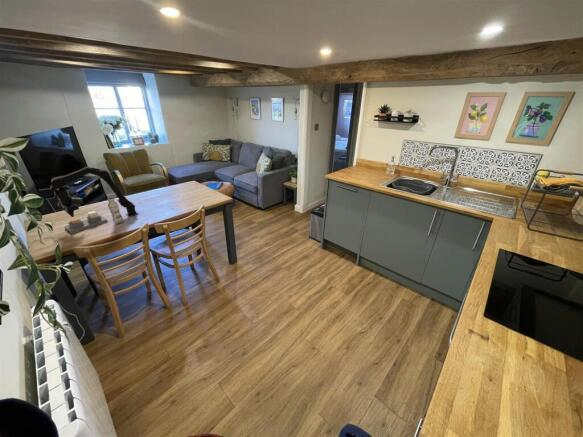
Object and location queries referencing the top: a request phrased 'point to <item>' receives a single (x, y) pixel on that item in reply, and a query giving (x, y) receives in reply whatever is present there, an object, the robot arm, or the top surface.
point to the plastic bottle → (115, 211)
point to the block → (85, 224)
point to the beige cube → (92, 214)
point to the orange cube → (74, 220)
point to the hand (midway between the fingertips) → (72, 216)
